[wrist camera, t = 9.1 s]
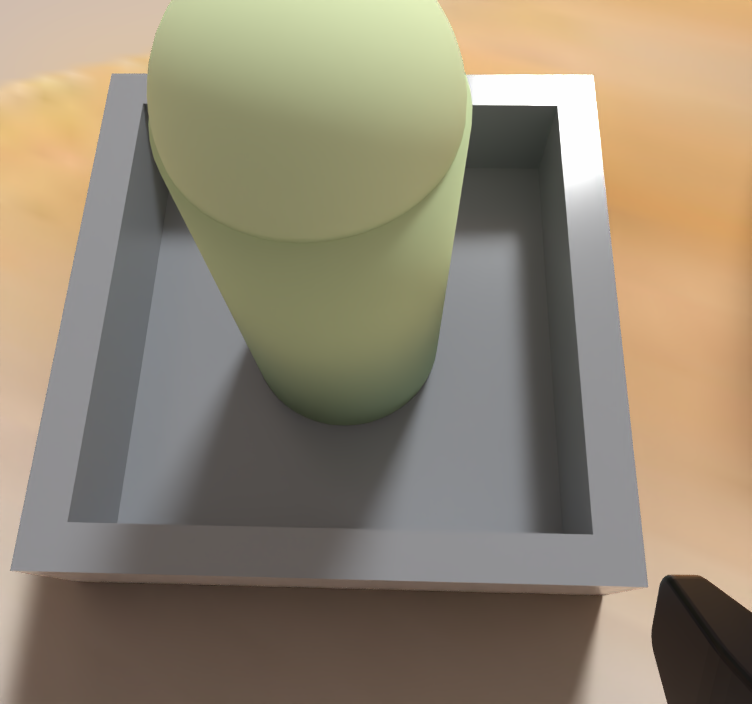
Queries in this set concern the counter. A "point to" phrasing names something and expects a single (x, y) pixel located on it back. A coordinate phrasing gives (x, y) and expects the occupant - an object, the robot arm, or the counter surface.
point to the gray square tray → (350, 442)
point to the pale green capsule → (318, 184)
